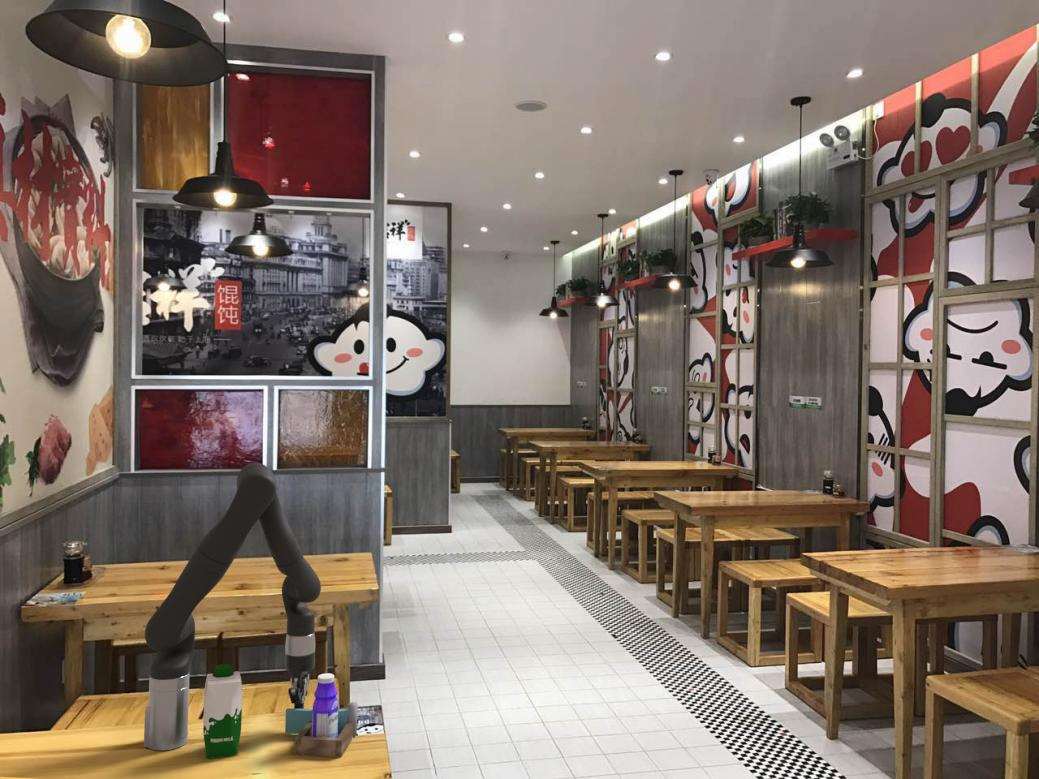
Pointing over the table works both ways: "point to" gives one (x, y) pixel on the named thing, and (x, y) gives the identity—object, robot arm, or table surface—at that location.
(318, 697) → the bottle
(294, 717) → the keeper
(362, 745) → the table surface
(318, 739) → the brown wooden tray
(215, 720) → the milk carton
